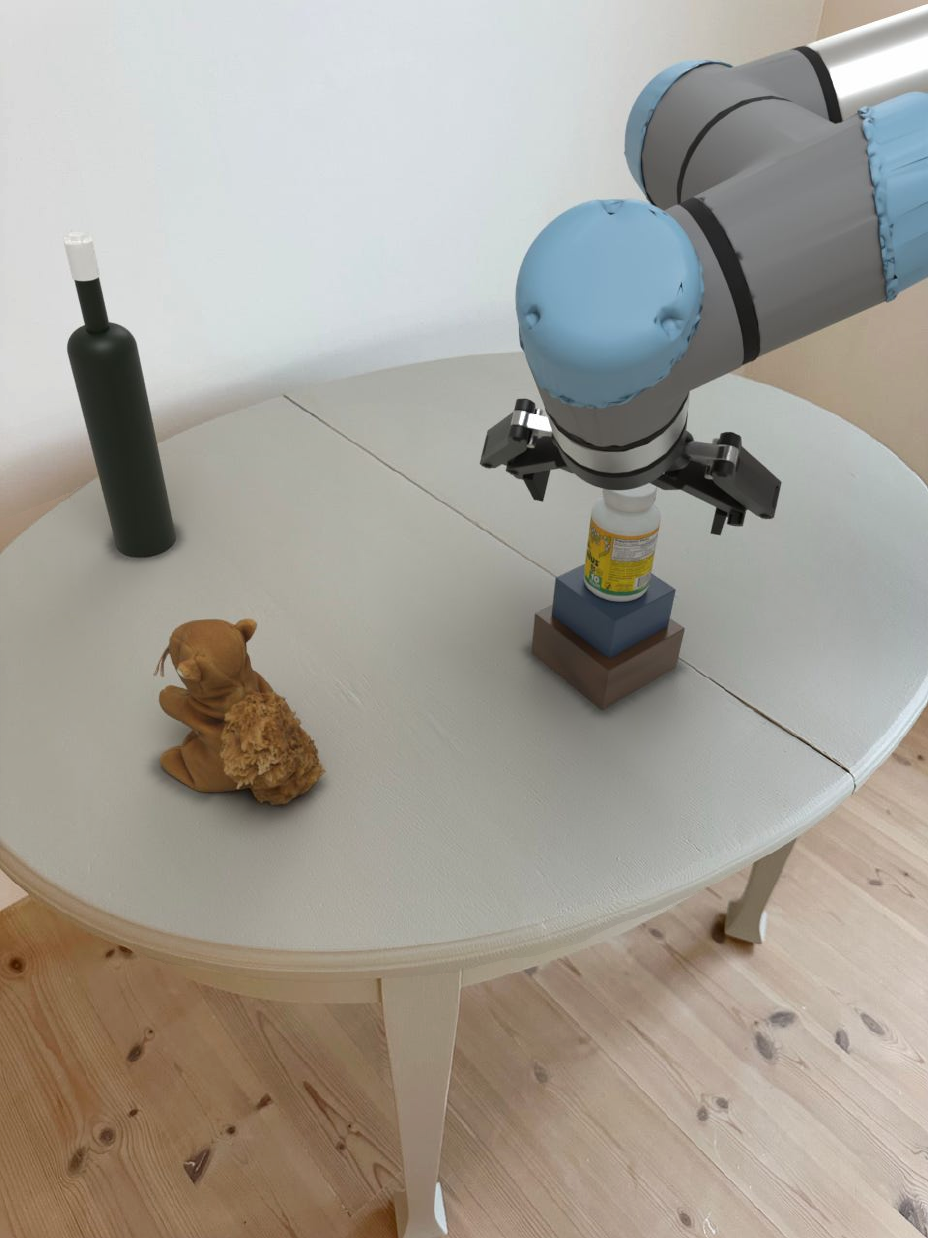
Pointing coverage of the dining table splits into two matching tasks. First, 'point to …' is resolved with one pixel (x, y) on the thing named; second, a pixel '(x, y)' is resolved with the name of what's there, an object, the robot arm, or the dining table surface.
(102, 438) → the wine bottle
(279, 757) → the stuffed squirrel
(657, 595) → the top block
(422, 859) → the dining table surface
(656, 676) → the base block
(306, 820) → the dining table surface
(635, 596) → the supplement bottle
